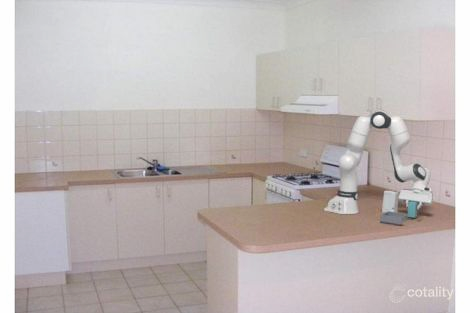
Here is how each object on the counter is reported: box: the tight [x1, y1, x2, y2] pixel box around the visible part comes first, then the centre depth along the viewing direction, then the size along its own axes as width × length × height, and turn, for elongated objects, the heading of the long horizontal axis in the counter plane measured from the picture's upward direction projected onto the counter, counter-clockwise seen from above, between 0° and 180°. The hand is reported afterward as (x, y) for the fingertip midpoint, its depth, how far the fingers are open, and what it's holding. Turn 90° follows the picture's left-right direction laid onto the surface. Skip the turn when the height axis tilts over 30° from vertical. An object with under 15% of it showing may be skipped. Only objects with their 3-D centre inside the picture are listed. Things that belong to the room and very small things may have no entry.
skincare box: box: [381, 190, 400, 214], centre depth 340 cm, size 8×6×15 cm
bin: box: [379, 211, 409, 227], centre depth 318 cm, size 13×13×5 cm
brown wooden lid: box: [407, 216, 425, 222], centre depth 324 cm, size 12×12×5 cm
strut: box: [407, 201, 419, 218], centre depth 324 cm, size 4×4×9 cm
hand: (412, 208), depth 323 cm, fingers closed on strut, 4 cm apart
